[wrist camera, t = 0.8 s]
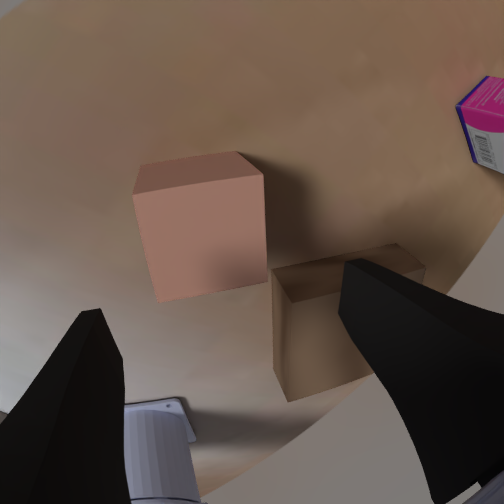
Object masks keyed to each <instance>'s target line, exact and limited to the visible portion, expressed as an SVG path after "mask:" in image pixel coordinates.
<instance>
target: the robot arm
mask: <svg viewBox="0 0 504 504" xmlns="http://www.w3.org/2000/svg"><path fill="white" fill-rule="evenodd" d="M338 315H339V317H340V319H341V321H342V323H343V325H344V327H345V329H346V331H347V332H348V334H349V336H350V338H351V340H352V341H353V343H354V344H355V346H356V347H357V348H358V350H359V351H360V353H361V354H362V356H363V357H364V359H365V360H366V361H367V363H368V364H369V366H370V367H371V368H372V370H373V371H374V373H375V374H376V376H377V377H378V378H379V380H380V381H381V383H382V384H383V386H384V387H385V389H386V390H387V391H388V393H389V395H390V397H391V398H392V400H393V401H394V404H395V406H396V408H397V409H398V411H399V413H400V415H401V417H402V419H403V421H404V423H405V426H406V428H407V430H408V432H409V434H410V437H411V439H412V441H413V443H414V446H415V448H416V451H417V454H418V456H419V459H420V462H421V464H422V467H423V470H424V473H425V477H426V480H427V483H428V487H429V490H430V494H431V498H432V500H433V502H434V504H446V503H447V502H449V501H450V500H452V499H453V498H455V497H457V496H458V495H459V494H461V493H462V492H464V491H465V490H467V489H468V488H470V487H471V486H472V485H473V484H475V483H476V482H478V483H479V484H480V486H481V489H480V490H479V491H478V492H476V493H475V494H474V495H473V496H471V497H470V498H469V499H468V500H466V501H465V502H464V503H463V504H504V314H499V313H496V312H492V311H488V310H485V309H482V308H479V307H476V306H474V305H470V304H467V303H465V302H462V301H459V300H457V299H454V298H452V297H449V296H447V295H445V294H442V293H440V292H438V291H435V290H433V289H431V288H428V287H426V286H424V285H422V284H420V283H417V282H415V281H413V280H411V279H409V278H407V277H405V276H402V275H400V274H398V273H396V272H394V271H392V270H390V269H387V268H385V267H383V266H381V265H378V264H376V263H374V262H371V261H369V260H366V259H363V258H358V259H354V260H349V261H345V262H344V271H343V279H342V287H341V294H340V302H339V309H338ZM195 441H196V436H195V434H194V432H193V429H192V427H191V425H190V423H189V420H188V418H187V416H186V413H185V411H184V409H183V406H182V404H181V402H180V400H179V399H176V398H173V399H167V400H160V401H154V402H146V403H139V404H131V405H125V383H124V370H123V358H122V356H121V354H120V352H119V350H118V347H117V345H116V343H115V341H114V339H113V336H112V334H111V332H110V329H109V327H108V325H107V322H106V320H105V318H104V315H103V313H102V310H101V308H99V309H93V310H87V311H81V313H80V314H79V315H78V317H77V318H76V319H75V321H74V322H73V323H72V325H71V326H70V328H69V329H68V331H67V332H66V334H65V335H64V337H63V338H62V340H61V341H60V343H59V344H58V346H57V347H56V349H55V350H54V351H53V353H52V354H51V356H50V357H49V359H48V361H47V362H46V364H45V365H44V366H43V368H42V369H41V371H40V372H39V373H38V375H37V376H36V378H35V379H34V380H33V382H32V383H31V385H30V386H29V388H28V389H27V391H26V392H25V393H24V395H23V396H22V397H21V399H20V400H19V401H18V403H17V404H16V405H15V406H14V408H13V409H12V410H11V411H10V413H9V414H8V415H7V416H6V418H5V419H4V420H3V421H2V422H1V424H0V504H208V503H201V500H200V495H199V491H198V487H197V482H196V477H195V473H194V468H193V463H192V458H191V453H190V448H189V443H191V442H195Z"/></svg>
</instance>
